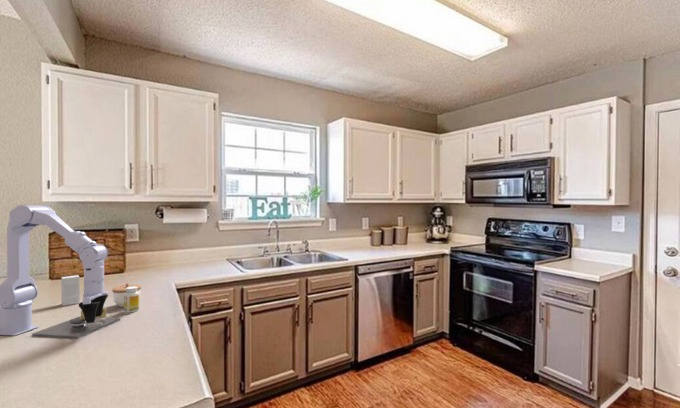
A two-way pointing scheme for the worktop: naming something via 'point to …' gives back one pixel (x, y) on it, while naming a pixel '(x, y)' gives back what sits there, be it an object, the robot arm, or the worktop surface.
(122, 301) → the lidded jar
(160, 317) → the worktop surface
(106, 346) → the worktop surface
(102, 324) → the base plate
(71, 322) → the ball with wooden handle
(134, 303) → the supplement bottle
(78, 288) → the skincare box
